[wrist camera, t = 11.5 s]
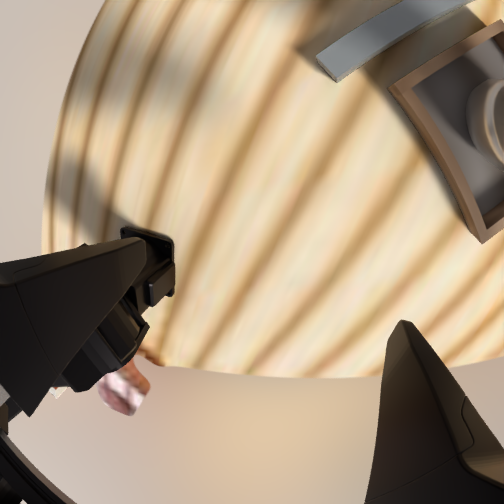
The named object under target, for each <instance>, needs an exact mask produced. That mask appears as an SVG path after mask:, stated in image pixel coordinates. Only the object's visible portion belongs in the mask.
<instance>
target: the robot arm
mask: <svg viewBox="0 0 504 504" xmlns="http://www.w3.org/2000/svg"><path fill="white" fill-rule="evenodd" d="M120 234H121V239H120V240H115V241H110V242H105V243H99V244H94V245H87V244H85V243H84V244H82V245H81V246H79V247H77V248H74V249H70V250H65V251H60V252H55V253H51V254H46V255H41V256H37V257H32V258H27V259H21V260H15V261H9V262H3V263H0V504H20V502H21V501H22V500H24V501H25V502H26V503H27V504H77V503H75V502H74V501H73V500H71V499H70V498H69V497H68V496H66V495H65V494H64V493H63V492H62V491H61V490H59V489H58V488H57V487H56V486H55V485H54V484H53V483H52V482H50V481H49V480H48V479H47V478H46V477H45V476H44V475H43V474H42V473H41V472H40V471H39V470H38V469H37V468H36V467H35V466H34V465H33V464H32V463H31V462H30V461H29V460H28V459H27V458H26V457H25V456H24V455H23V454H22V453H21V452H20V450H19V449H18V448H17V447H16V446H15V445H14V443H13V442H12V441H11V440H10V439H9V437H8V436H7V435H8V422H9V421H11V420H12V419H13V418H14V417H15V416H16V415H17V414H19V413H20V412H21V411H22V410H23V411H24V412H25V413H26V415H27V416H28V417H30V416H31V415H32V414H33V413H34V411H35V410H36V408H37V407H38V405H39V404H40V402H41V401H42V399H43V398H44V397H45V395H46V394H47V392H48V391H49V389H50V388H51V387H71V388H72V389H73V391H74V392H82V391H87V390H89V389H90V388H91V387H92V386H93V385H94V384H95V383H96V382H97V381H98V380H100V379H101V378H102V377H103V376H104V375H105V374H107V373H111V372H114V371H117V370H119V369H120V368H122V367H123V366H124V365H126V364H127V363H128V362H129V361H130V360H131V359H132V358H133V357H134V355H135V353H136V352H137V350H138V348H139V346H140V344H141V342H142V340H143V339H144V337H145V335H146V333H147V331H148V329H149V328H150V326H149V325H148V323H147V322H145V321H144V319H143V318H142V316H141V315H142V314H143V312H144V311H145V310H146V309H147V308H148V307H149V306H150V307H154V306H155V305H156V304H157V303H158V302H159V301H160V300H161V299H162V298H163V297H164V296H168V297H172V296H173V295H174V293H175V291H174V286H175V263H174V243H173V241H172V240H170V239H167V238H163V237H160V236H156V235H153V234H150V233H146V232H143V231H139V230H136V229H133V228H129V227H126V226H125V227H123V228H121V230H120ZM168 244H169V245H170V246H168ZM364 504H504V449H503V447H502V446H501V444H500V443H499V441H498V440H497V438H496V437H495V436H494V434H493V433H492V432H491V430H490V429H489V428H488V426H487V425H486V423H485V422H484V420H483V419H482V418H481V416H480V415H479V414H478V412H477V411H476V409H475V408H474V406H473V405H472V403H471V402H470V400H469V399H468V397H467V396H465V393H464V391H463V390H462V388H461V387H460V385H459V384H458V383H457V381H456V380H455V379H454V377H453V376H452V374H451V373H450V372H449V370H448V369H447V367H446V366H445V364H444V363H443V362H442V360H441V359H440V358H439V356H438V355H437V354H436V352H435V351H434V350H433V348H432V347H431V346H430V345H429V343H428V342H427V341H426V339H425V338H424V337H423V336H422V334H421V333H420V332H419V330H418V329H417V328H416V327H415V325H414V324H413V323H412V322H410V321H406V320H400V321H399V322H398V324H397V325H396V327H395V329H394V330H393V332H392V334H391V335H390V337H389V339H388V342H387V347H386V355H385V362H384V369H383V375H382V382H381V394H380V407H379V418H378V428H377V436H376V444H375V450H374V457H373V463H372V469H371V475H370V480H369V484H368V489H367V494H366V498H365V503H364Z"/></svg>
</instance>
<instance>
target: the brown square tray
mask: <svg viewBox="0 0 504 504" xmlns="http://www.w3.org/2000/svg"><path fill="white" fill-rule="evenodd" d="M489 79H504V23H503V21H502V20H501V19H500V20H498V21H496V22H494V23H493V24H491V25H489V26H487V27H485V28H483V29H481V30H480V31H478V32H476V33H474V34H472V35H471V36H469V37H467V38H465V39H464V40H462V41H460V42H459V43H457V44H455V45H454V46H452V47H450V48H449V49H447V50H445V51H444V52H442V53H440V54H439V55H437V56H435V57H434V58H432V59H431V60H429V61H427V62H426V63H424V64H423V65H421V66H420V67H418V68H416V69H415V70H413V71H412V72H410V73H409V74H407V75H406V76H404V77H403V78H401V79H400V80H398V81H397V82H395V83H394V84H392V85H391V86H390V87H389V88H387V89H388V91H389V92H390V93H391V95H392V96H393V97H394V98H395V100H396V101H397V102H398V104H399V105H400V106H401V108H402V109H403V111H404V112H405V113H406V115H407V116H408V118H409V119H410V121H411V122H412V123H413V125H414V126H415V128H416V129H417V131H418V132H419V134H420V136H421V137H422V139H423V140H424V142H425V144H426V145H427V147H428V148H429V150H430V152H431V153H432V155H433V157H434V159H435V160H436V162H437V164H438V166H439V167H440V169H441V171H442V173H443V175H444V177H445V179H446V181H447V182H448V184H449V186H450V188H451V190H452V192H453V195H454V197H455V199H456V201H457V203H458V205H459V207H460V210H461V212H462V214H463V216H464V219H465V221H466V224H467V226H468V228H469V231H470V232H471V233H472V234H473V235H474V236H475V237H476V238H477V239H478V241H479V242H480V243H481V244H483V243H485V242H486V241H487V240H489V239H490V238H491V237H493V236H494V235H495V234H497V233H498V232H499V231H501V230H502V229H503V228H504V172H503V171H501V170H499V169H498V168H497V167H495V166H494V165H493V164H491V163H490V162H488V161H487V160H486V159H485V158H484V157H483V156H482V155H481V154H480V153H479V151H478V150H477V148H476V147H475V145H474V143H473V141H472V139H471V136H470V134H469V131H468V126H467V122H466V105H467V101H468V98H469V96H470V94H471V92H472V91H473V90H474V88H476V87H477V86H478V85H480V84H481V83H483V82H485V81H486V80H489Z"/></svg>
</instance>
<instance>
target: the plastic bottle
mask: <svg viewBox="0 0 504 504" xmlns="http://www.w3.org/2000/svg"><path fill="white" fill-rule="evenodd" d="M466 122H467V126H468V131H469V134H470V136H471V139H472V141H473V143H474V145H475V147H476V148H477V150H478V151H479V153H480V154H481V155H482V156H483V157H484V158H485V159H486V160H487V161H488V162H490V163H491V164H493V165H494V166H495V167H497V168H498V169H499V170H501V171H503V172H504V79H489V80H486V81H485V82H483V83H481V84H480V85H478V86H477V87H476V88H474V90H473V91H472V92H471V94H470V96H469V98H468V101H467V105H466Z"/></svg>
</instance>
